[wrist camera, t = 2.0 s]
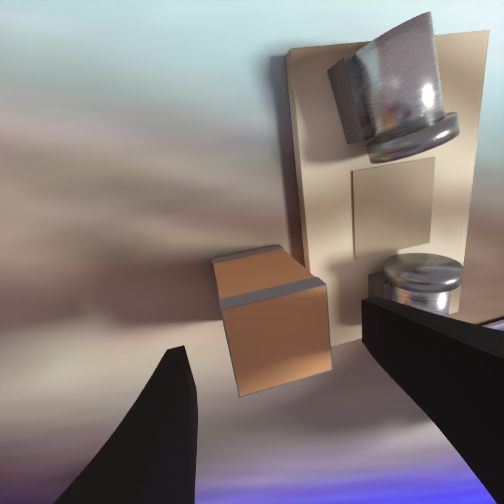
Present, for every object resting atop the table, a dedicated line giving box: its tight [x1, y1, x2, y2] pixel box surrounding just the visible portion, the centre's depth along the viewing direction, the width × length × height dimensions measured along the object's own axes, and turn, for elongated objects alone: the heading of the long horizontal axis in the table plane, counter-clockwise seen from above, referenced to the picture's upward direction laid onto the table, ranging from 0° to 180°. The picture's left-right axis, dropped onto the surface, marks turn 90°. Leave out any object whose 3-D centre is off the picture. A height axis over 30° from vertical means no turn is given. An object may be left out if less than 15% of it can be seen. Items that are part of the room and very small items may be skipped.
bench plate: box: [285, 30, 489, 347], centre depth 16 cm, size 17×11×1 cm, turn 8°
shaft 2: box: [368, 253, 463, 317], centre depth 15 cm, size 5×4×5 cm
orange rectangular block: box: [212, 244, 332, 397], centre depth 13 cm, size 4×4×6 cm
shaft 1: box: [327, 12, 460, 164], centre depth 12 cm, size 5×4×5 cm
